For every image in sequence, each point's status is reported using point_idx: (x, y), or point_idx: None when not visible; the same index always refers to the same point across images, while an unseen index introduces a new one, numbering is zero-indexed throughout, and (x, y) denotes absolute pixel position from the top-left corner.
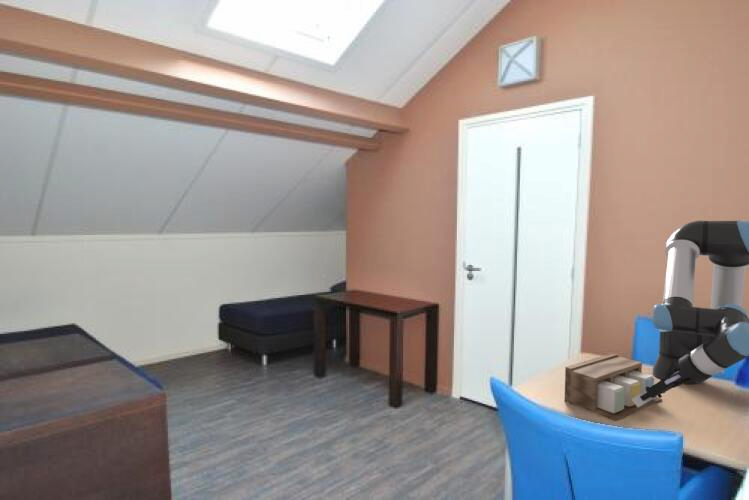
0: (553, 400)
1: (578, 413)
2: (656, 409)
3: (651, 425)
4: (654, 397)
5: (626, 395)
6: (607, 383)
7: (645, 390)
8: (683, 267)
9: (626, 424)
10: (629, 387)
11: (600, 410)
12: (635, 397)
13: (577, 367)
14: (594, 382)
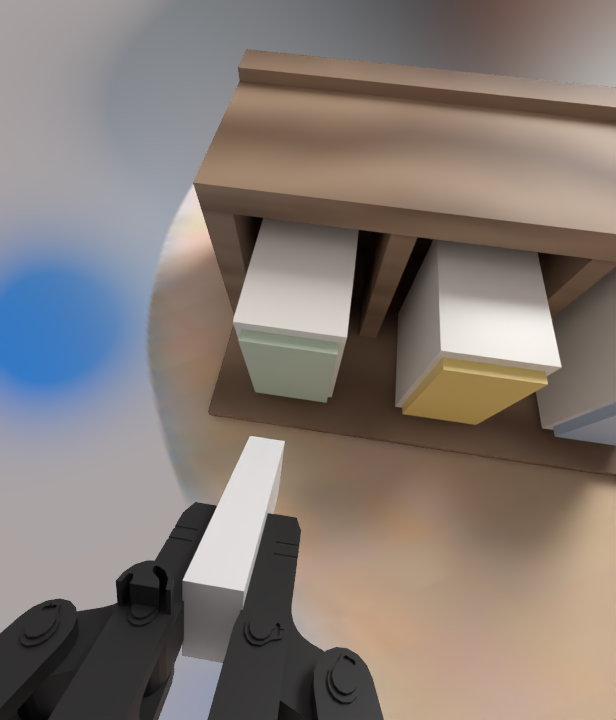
0: None
1: (185, 290)
2: (519, 505)
3: None
4: (186, 654)
5: (412, 368)
6: (321, 257)
7: (591, 414)
8: None
9: (206, 464)
10: (430, 358)
11: None
12: (239, 460)
13: (306, 80)
14: (202, 208)
